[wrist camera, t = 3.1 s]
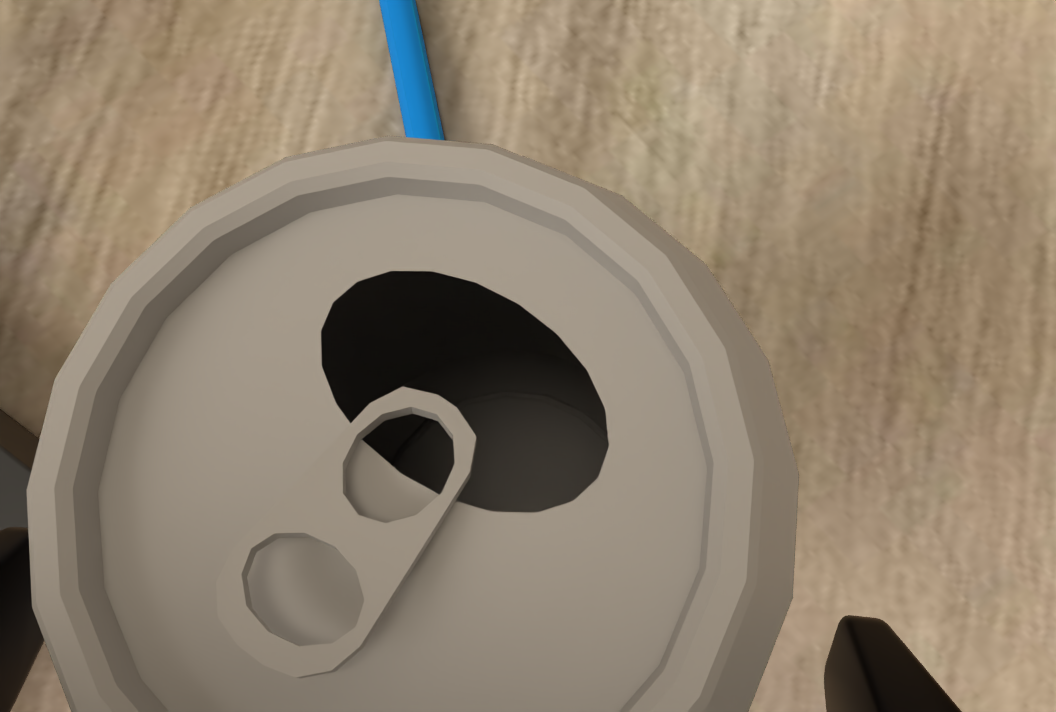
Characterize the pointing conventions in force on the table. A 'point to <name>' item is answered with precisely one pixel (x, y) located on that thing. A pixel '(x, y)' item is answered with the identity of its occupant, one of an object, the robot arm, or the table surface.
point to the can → (413, 455)
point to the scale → (15, 471)
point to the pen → (411, 69)
